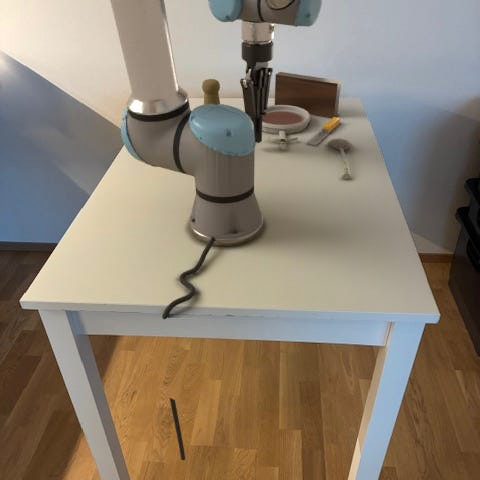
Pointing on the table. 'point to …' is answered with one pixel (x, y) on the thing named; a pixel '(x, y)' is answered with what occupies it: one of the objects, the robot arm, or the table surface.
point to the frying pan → (284, 122)
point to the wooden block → (308, 93)
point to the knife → (325, 130)
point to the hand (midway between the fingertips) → (255, 141)
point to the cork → (211, 91)
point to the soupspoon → (342, 152)
